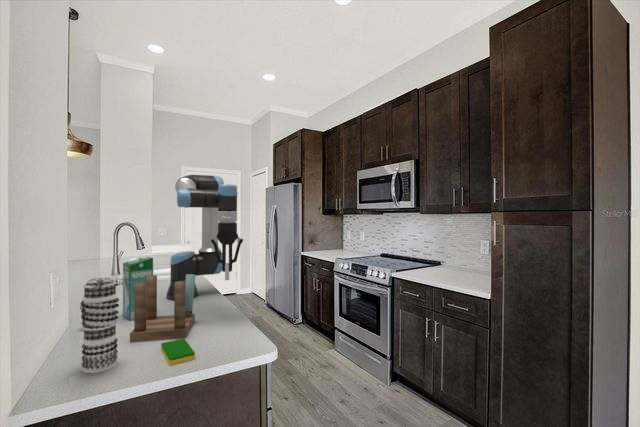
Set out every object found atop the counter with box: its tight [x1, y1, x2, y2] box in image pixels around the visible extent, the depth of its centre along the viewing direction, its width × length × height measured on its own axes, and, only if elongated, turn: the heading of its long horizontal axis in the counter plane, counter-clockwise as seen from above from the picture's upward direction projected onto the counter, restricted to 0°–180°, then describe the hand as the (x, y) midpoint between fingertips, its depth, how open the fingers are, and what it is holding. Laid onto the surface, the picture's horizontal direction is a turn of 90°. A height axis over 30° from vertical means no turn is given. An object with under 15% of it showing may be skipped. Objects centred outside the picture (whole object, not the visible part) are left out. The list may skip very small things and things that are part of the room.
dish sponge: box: [160, 338, 196, 366], centre depth 100 cm, size 7×14×2 cm, turn 36°
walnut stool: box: [129, 274, 196, 343], centre depth 120 cm, size 19×18×19 cm
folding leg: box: [185, 274, 196, 312], centre depth 127 cm, size 4×4×14 cm
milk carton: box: [122, 255, 154, 322], centre depth 137 cm, size 9×9×25 cm
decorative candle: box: [79, 277, 120, 374], centre depth 92 cm, size 9×9×25 cm
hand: (227, 279), depth 131 cm, fingers closed
